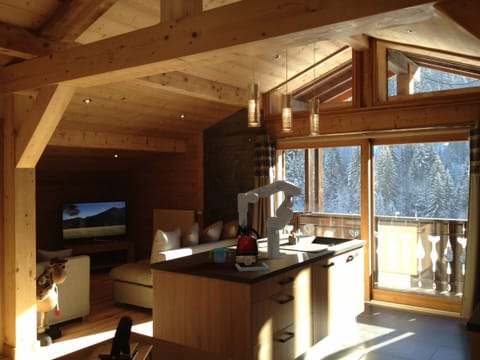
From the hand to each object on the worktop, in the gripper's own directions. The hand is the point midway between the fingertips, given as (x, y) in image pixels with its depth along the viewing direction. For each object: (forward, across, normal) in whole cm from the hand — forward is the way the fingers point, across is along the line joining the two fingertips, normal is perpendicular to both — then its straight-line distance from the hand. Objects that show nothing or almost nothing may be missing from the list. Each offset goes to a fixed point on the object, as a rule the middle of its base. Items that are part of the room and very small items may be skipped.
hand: (243, 232), depth 347 cm
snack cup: (+21, +4, -18) cm, 28 cm away
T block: (+21, +10, +1) cm, 23 cm away
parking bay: (+21, +29, +1) cm, 36 cm away
